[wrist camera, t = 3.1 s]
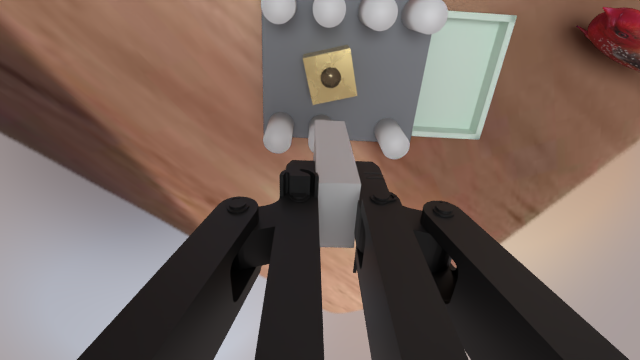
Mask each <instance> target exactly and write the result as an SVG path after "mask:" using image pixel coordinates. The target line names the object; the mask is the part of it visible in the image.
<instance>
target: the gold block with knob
mask: <svg viewBox="0 0 640 360" xmlns="http://www.w3.org/2000/svg"><path fill="white" fill-rule="evenodd" d="M303 62H304V67H305V72H306V76H307V81H308V85H309V90H310V95H311V99H312V104H313V105H315V104H320V103H325V102H330V101H335V100H340V99H345V98H350V97H355V96H357V90H356V83H355V76H354V70H353V63H352V56H351V50H350V47H349V46H348V45H344V46H339V47H334V48H330V49H325V50H320V51H316V52H311V53H307V54H303Z"/></svg>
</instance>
